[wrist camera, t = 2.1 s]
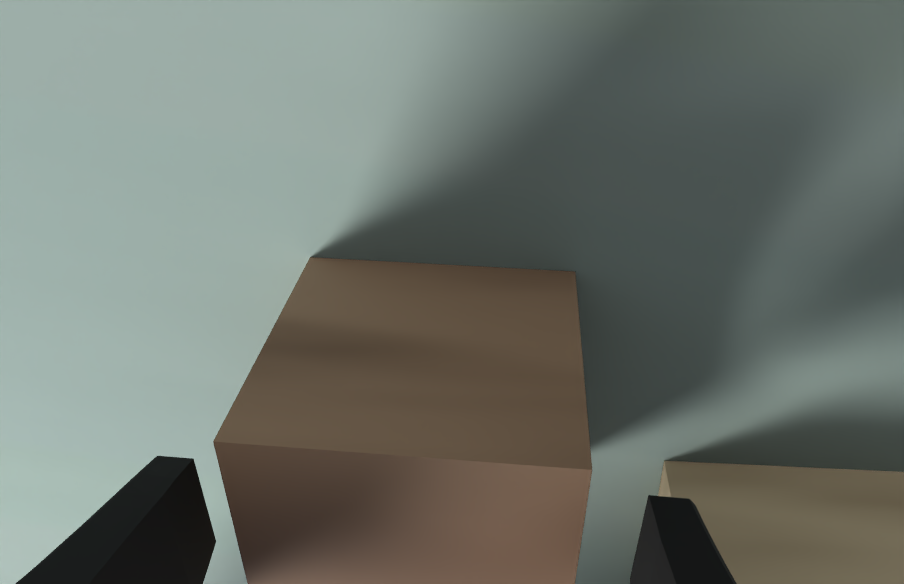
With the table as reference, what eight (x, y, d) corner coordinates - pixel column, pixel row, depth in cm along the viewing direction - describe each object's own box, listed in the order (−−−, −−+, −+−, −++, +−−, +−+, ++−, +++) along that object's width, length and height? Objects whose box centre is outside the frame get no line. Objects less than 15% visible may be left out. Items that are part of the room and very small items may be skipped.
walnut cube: (553, 461, 16) (559, 683, 12) (333, 444, 17) (265, 654, 12) (575, 269, 13) (592, 469, 9) (311, 255, 14) (212, 441, 10)
